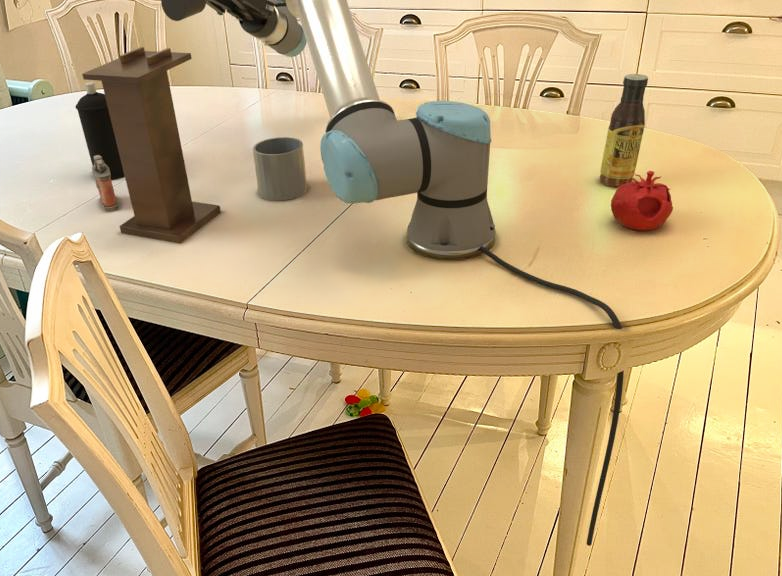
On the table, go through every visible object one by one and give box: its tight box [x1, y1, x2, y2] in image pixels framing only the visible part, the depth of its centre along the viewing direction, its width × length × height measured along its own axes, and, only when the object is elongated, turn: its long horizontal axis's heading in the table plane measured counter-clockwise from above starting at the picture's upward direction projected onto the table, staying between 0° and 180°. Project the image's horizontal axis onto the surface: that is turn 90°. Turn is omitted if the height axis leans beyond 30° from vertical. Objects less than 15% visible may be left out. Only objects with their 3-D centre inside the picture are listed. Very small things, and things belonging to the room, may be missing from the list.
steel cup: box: [252, 136, 308, 202], centre depth 150 cm, size 10×10×10 cm
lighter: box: [91, 155, 119, 212], centre depth 152 cm, size 8×3×10 cm, turn 22°
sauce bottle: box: [599, 73, 649, 188], centre depth 138 cm, size 6×6×20 cm
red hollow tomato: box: [610, 170, 674, 231], centre depth 127 cm, size 10×10×9 cm
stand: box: [81, 46, 222, 244], centre depth 136 cm, size 15×14×31 cm
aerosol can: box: [74, 81, 125, 181], centre depth 163 cm, size 8×8×20 cm
